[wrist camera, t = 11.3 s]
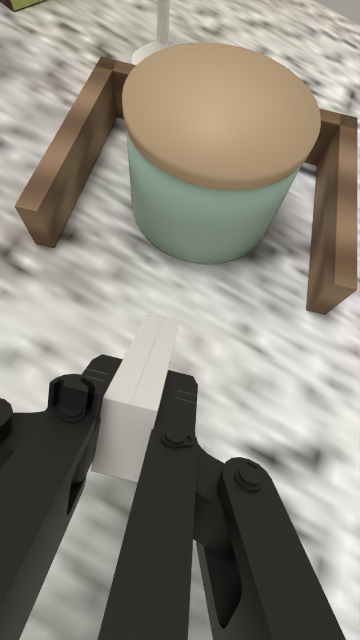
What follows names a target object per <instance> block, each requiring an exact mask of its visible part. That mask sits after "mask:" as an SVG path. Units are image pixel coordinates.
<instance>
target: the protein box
mask: <svg viewBox="0 0 360 640" xmlns="http://www.w3.org/2000/svg"><path fill="white" fill-rule="evenodd" d="M0 1H1V2H3V3H4V4H5V5H7V6H8V7H9V8H11V9H12V10H13V11H15V10H18V9H21V8H24V7H27V6H30V5H33V4H35V3H38V2H41V1H44V0H0Z"/></svg>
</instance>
